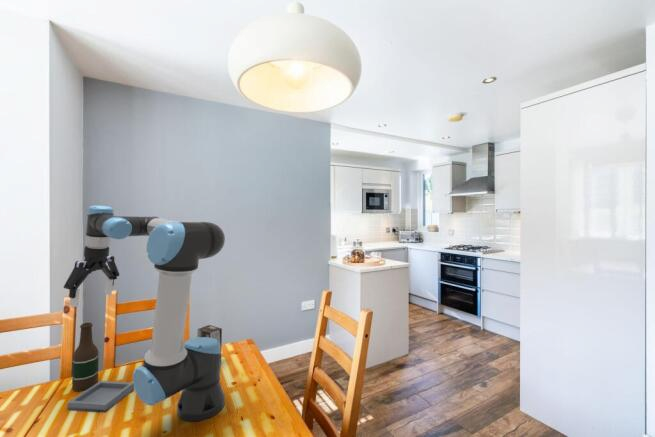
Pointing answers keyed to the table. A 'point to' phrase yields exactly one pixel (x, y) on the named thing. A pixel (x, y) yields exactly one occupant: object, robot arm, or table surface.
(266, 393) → the table surface
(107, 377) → the table surface
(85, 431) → the table surface
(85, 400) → the tray
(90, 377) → the beer bottle
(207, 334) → the coffee box
